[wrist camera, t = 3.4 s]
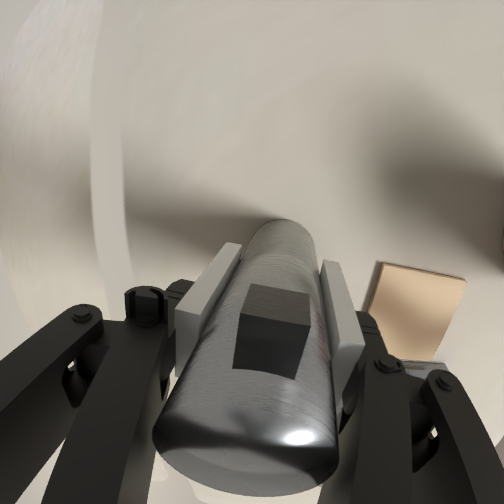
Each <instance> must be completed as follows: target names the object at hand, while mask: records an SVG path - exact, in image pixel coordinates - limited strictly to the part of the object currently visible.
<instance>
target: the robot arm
mask: <svg viewBox="0 0 504 504" xmlns="http://www.w3.org/2000/svg"><path fill="white" fill-rule="evenodd" d="M241 249H242V245H241V244H236V243H230V242H226V243H225V245H224V246H223V247H222V248H221V250H220V251H219V252H218V254H217V255H216V256H215V257H214V259H213V260H212V261H211V262H210V264H209V265H208V266H207V268H206V269H205V270H204V271H203V273H202V274H201V275H200V276H199V278H198V279H197V280H196V282H193V281H189V280H184V279H180V280H178V281H176V282H173V283H172V284H171V285H170V286H169V287H168V288H167V289H166V290H165V291H164V290H162V289H160V288H157V287H153V286H139V287H134V288H131V289H129V290H128V291H126V293H124V294H125V309H126V319H125V320H124V321H112V320H103V317H102V312H101V311H100V309H99V308H97V307H96V306H93V305H89V304H79V305H75V306H72V307H70V308H68V309H67V310H65V311H64V312H63V313H61V314H60V315H59V316H57V317H56V318H55V319H53V320H52V321H51V322H49V323H48V324H47V325H45V326H44V327H43V328H41V329H40V330H39V331H37V332H36V333H35V334H33V335H32V336H31V337H30V338H28V339H27V340H26V341H24V342H23V343H22V344H21V345H19V346H18V347H17V348H16V349H14V350H13V351H12V352H11V353H9V354H8V355H7V356H6V357H5V358H3V359H2V360H1V361H0V504H15V503H16V502H17V500H18V499H19V497H20V496H21V495H22V493H23V492H24V491H25V490H26V488H27V487H28V486H29V484H30V483H31V482H32V480H33V479H34V478H35V476H36V475H37V474H38V472H39V471H40V470H41V469H42V467H43V466H44V465H45V463H46V462H47V461H48V460H49V458H50V457H51V456H52V454H53V453H54V452H55V450H56V449H57V448H58V447H59V446H60V444H61V443H62V442H63V440H64V439H65V438H66V439H65V441H64V444H63V446H62V449H61V451H60V453H59V456H58V458H57V461H56V463H55V466H54V469H53V471H52V474H51V476H50V479H49V482H48V485H47V488H46V490H45V494H44V496H43V499H42V502H41V504H147V498H148V492H149V486H150V481H151V475H152V469H153V464H154V459H155V453H156V448H155V446H154V444H153V441H152V428H153V426H154V424H155V422H156V420H157V418H158V417H159V415H160V413H161V411H162V409H163V407H164V405H165V403H166V400H167V396H168V391H169V387H170V373H171V371H172V369H173V368H174V366H175V376H176V377H179V376H180V374H181V372H182V371H183V369H184V367H185V365H186V363H187V361H188V359H189V357H190V355H191V353H192V351H193V350H194V348H195V346H196V344H197V342H198V340H199V338H200V336H201V334H202V332H203V331H204V329H205V327H206V325H207V323H208V321H209V319H210V317H211V315H212V313H213V312H214V310H215V308H216V306H217V304H218V302H219V300H220V298H221V296H222V295H223V293H224V291H225V289H226V287H227V285H228V283H229V281H230V279H231V278H232V276H233V274H234V272H235V270H236V268H237V266H238V264H239V263H240V256H241ZM320 282H321V288H322V295H323V301H324V308H325V315H326V322H327V330H328V337H329V345H330V354H331V362H332V371H333V381H334V391H335V402H336V407H337V405H338V403H339V401H340V399H341V397H342V401H343V407H342V409H341V411H340V413H339V415H338V416H337V427H338V442H339V465H338V468H337V470H336V471H335V473H334V474H333V475H332V476H331V477H330V478H329V479H328V480H326V481H325V482H324V483H323V485H322V489H321V492H320V496H319V500H318V503H317V504H504V468H503V466H502V463H501V461H500V459H499V457H498V454H497V452H496V450H495V448H494V445H493V443H492V441H491V439H490V437H489V435H488V433H487V431H486V429H485V427H484V425H483V423H482V421H481V419H480V417H479V415H478V413H477V411H476V409H475V408H474V406H473V404H472V402H471V400H470V398H469V397H468V395H467V393H466V391H465V390H464V388H463V386H462V384H461V383H460V381H459V380H458V379H457V377H456V376H454V375H453V374H452V373H451V372H449V371H446V370H441V369H435V370H432V371H430V372H429V373H428V375H427V377H426V378H425V379H422V378H419V377H416V376H412V375H409V374H407V373H406V371H405V367H404V365H403V363H402V362H401V361H400V360H399V359H398V358H396V357H395V356H393V355H391V354H388V351H387V348H386V346H385V343H384V340H383V338H382V336H381V333H380V330H379V329H378V325H377V323H376V320H375V319H374V318H373V317H372V316H371V315H370V314H369V313H367V312H361V311H355V309H354V306H353V303H352V300H351V297H350V294H349V291H348V288H347V285H346V282H345V279H344V276H343V273H342V271H341V268H340V265H339V262H334V261H328V260H323V264H322V268H321V272H320ZM72 361H73V362H74V365H73V366H72V367H71V368H68V365H69V364H70V363H71V362H72ZM434 428H436V431H437V433H438V435H437V436H436V437H435V438H434V437H433V435H432V433H431V431H432V430H433V429H434Z"/></svg>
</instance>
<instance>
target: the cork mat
mask: <svg viewBox="0 0 504 504" xmlns="http://www.w3.org/2000/svg"><path fill="white" fill-rule="evenodd" d="M466 283H467V281H466V280H465V279H460V278H456V277H451V276H446V275H441V274H436V273H431V272H426V271H421V270H416V269H411V268H406V267H401V266H396V265H391V264H386V263H383V264H382V267H381V271H380V274H379V277H378V280H377V284H376V287H375V290H374V293H373V296H372V299H371V302H370V305H369V308H368V310H367V313H369V314H370V315H371V316H372V317H373V318H374V319H375V320H376V323H377V325H378V329H379V330H380V333H381V336H382V338H383V340H384V343H385V346H386V348H387V351H388V354H391V355H393V356H395V357H396V358H398V359H407V360H421V361H431V360H432V358H433V356H434V354H435V352H436V351H437V349H438V347H439V345H440V343H441V341H442V339H443V337H444V335H445V332H446V330H447V328H448V326H449V324H450V322H451V319H452V317H453V315H454V313H455V310H456V308H457V306H458V303H459V301H460V298H461V296H462V293H463V291H464V288H465V285H466Z"/></svg>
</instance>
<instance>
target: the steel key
mask: <svg viewBox="0 0 504 504" xmlns="http://www.w3.org/2000/svg"><path fill="white" fill-rule="evenodd" d="M152 441H153V444H154V446H155V448H156V450H157V451H158V453H159V454H160V455H161V457H162V458H163V459H164V460H165V461H166V462H167V463H168V464H169V465H171V466H172V467H173V468H174V469H176V470H177V471H178V472H180V473H181V474H183V475H185V476H186V477H188V478H190V479H192V480H194V481H196V482H198V483H200V484H203V485H205V486H208V487H211V488H213V489H217V490H220V491H224V492H228V493H232V494H238V495H244V496H255V497H275V496H285V495H291V494H296V493H300V492H303V491H307V490H309V489H312V488H314V487H317V486H318V485H320V484H322V483H324V482H325V481H326V480H328V479H329V478H330V477H331V476H332V475H333V474H334V473H335V471H336V470H337V468H338V465H339V442H338V427H337V414H336V402H335V391H334V381H333V371H332V362H331V354H330V345H329V337H328V330H327V322H326V315H325V308H324V301H323V295H322V288H321V282H320V276H319V270H318V264H317V258H316V252H315V246H314V242H313V240H312V237H311V236H310V234H309V233H308V231H307V230H306V229H305V228H304V227H302V226H301V225H300V224H298V223H296V222H293V221H290V220H274V221H271V222H268V223H266V224H265V225H263V226H262V227H260V228H259V229H258V230H257V232H256V233H255V234H254V236H253V238H252V240H251V242H250V244H249V246H248V248H247V249H246V251H245V253H244V255H243V257H242V259H241V261H240V263H239V264H238V266H237V268H236V270H235V272H234V274H233V276H232V278H231V279H230V281H229V283H228V285H227V287H226V289H225V291H224V293H223V295H222V296H221V298H220V300H219V302H218V304H217V306H216V308H215V310H214V312H213V313H212V315H211V317H210V319H209V321H208V323H207V325H206V327H205V329H204V331H203V332H202V334H201V336H200V338H199V340H198V342H197V344H196V346H195V348H194V350H193V351H192V353H191V355H190V357H189V359H188V361H187V363H186V365H185V367H184V369H183V371H182V372H181V374H180V376H179V378H178V380H177V382H176V384H175V386H174V388H173V390H172V392H171V393H170V395H169V397H168V399H167V401H166V403H165V405H164V407H163V409H162V411H161V413H160V415H159V417H158V418H157V420H156V422H155V424H154V426H153V428H152Z"/></svg>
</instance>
